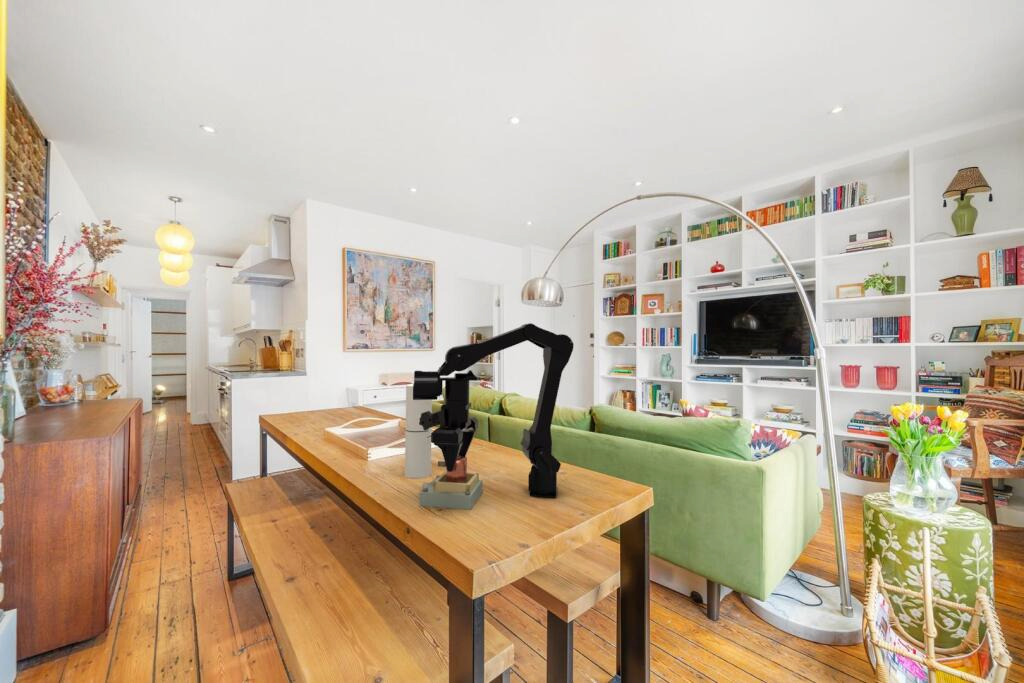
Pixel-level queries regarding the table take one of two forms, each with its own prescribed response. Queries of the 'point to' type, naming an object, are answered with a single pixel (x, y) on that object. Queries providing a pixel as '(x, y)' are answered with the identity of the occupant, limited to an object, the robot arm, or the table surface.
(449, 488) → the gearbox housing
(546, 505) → the table surface
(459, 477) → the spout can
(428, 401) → the cylindrical container
